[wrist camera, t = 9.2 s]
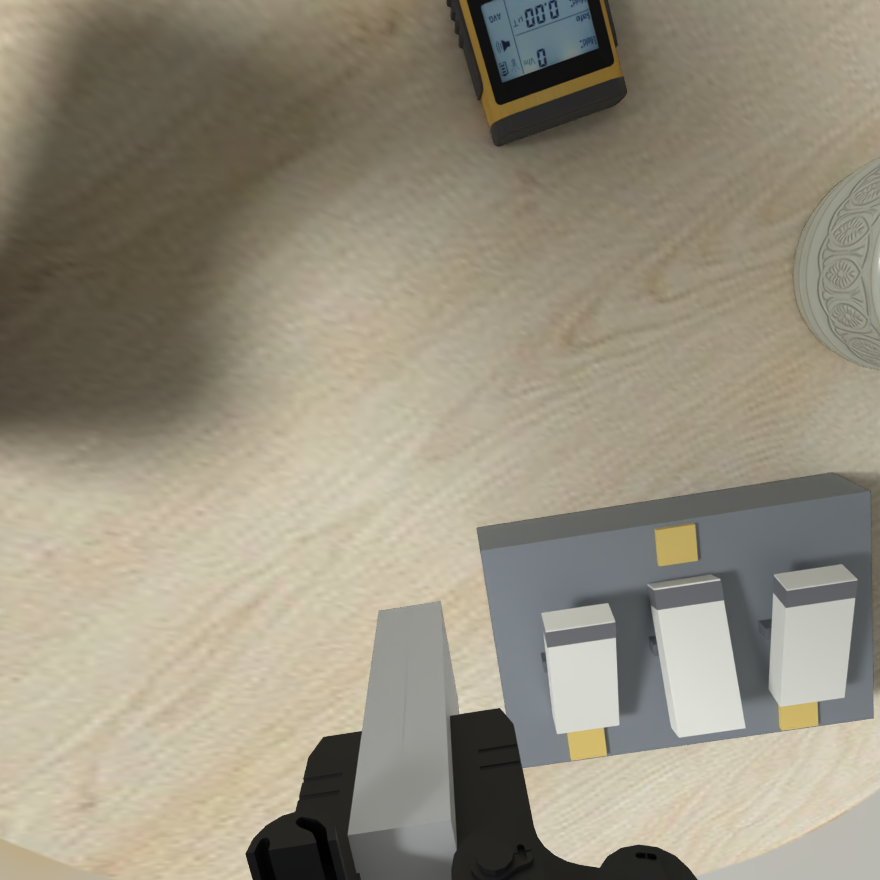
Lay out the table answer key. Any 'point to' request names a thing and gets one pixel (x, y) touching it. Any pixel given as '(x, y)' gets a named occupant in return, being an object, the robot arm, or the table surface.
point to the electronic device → (538, 61)
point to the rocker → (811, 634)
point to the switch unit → (663, 559)
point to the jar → (843, 268)
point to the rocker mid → (696, 655)
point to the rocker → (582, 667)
